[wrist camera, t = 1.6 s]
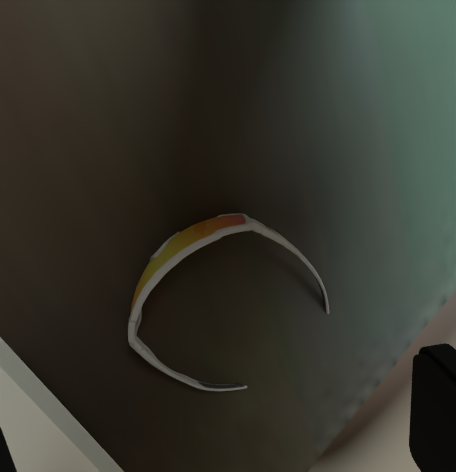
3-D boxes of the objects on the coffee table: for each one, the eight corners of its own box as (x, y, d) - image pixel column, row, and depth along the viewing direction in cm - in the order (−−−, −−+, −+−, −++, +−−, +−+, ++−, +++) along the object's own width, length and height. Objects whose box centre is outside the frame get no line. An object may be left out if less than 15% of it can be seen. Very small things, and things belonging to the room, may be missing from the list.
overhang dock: (35, 252, 30) (-39, 325, 20) (189, 444, 37) (193, 569, 27) (-87, 324, 30) (-218, 431, 20) (88, 499, 37) (55, 642, 27)
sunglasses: (220, 171, 29) (235, 191, 25) (335, 283, 36) (363, 315, 31) (94, 300, 31) (87, 340, 27) (224, 384, 38) (236, 428, 33)
